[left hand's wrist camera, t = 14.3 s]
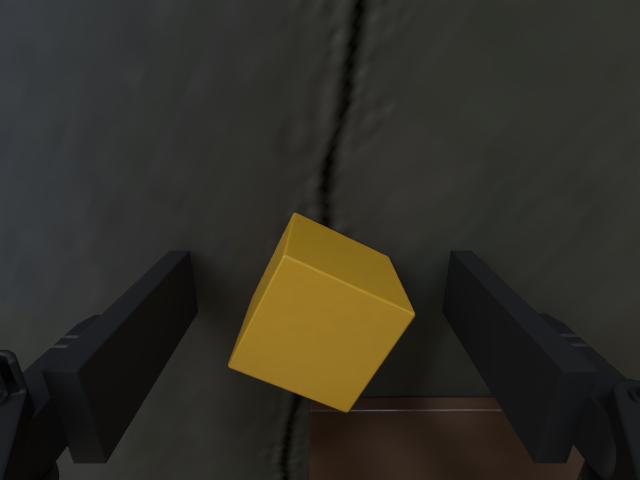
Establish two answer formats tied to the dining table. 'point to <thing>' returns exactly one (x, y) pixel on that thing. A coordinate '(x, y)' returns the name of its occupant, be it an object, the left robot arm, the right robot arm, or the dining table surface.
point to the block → (322, 316)
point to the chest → (424, 442)
